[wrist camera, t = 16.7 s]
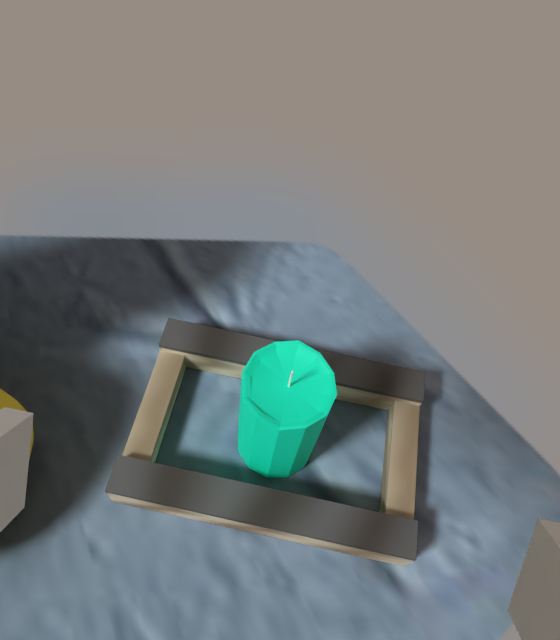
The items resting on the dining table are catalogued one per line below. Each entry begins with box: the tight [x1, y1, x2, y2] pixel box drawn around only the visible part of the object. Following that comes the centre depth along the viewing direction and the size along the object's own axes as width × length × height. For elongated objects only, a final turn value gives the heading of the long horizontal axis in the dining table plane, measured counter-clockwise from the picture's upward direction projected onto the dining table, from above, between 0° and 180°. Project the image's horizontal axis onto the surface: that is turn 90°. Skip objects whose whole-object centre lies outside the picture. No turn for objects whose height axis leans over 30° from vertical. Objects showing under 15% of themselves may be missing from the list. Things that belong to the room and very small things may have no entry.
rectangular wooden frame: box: [105, 318, 425, 566], centre depth 40 cm, size 21×14×3 cm, turn 79°
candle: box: [238, 340, 337, 478], centre depth 36 cm, size 6×6×12 cm
